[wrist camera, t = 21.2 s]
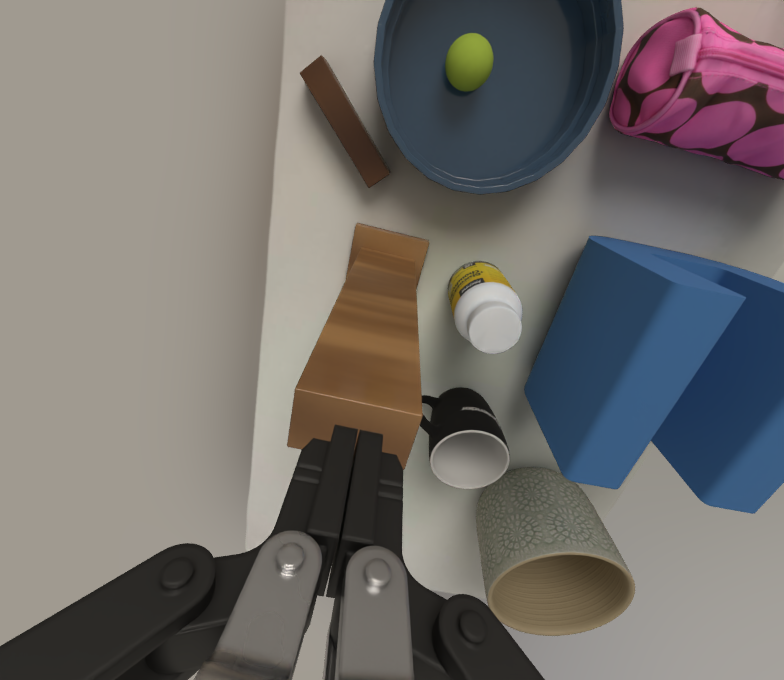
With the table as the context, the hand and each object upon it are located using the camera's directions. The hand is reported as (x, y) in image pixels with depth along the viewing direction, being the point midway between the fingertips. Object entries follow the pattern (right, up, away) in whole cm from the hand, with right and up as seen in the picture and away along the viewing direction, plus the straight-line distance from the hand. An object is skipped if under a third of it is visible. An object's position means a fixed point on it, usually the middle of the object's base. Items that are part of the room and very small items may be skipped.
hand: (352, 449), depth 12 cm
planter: (+22, -20, +47) cm, 56 cm away
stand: (0, +12, +31) cm, 34 cm away
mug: (+9, -5, +40) cm, 41 cm away
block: (+27, +6, +34) cm, 44 cm away
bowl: (+10, +28, +23) cm, 37 cm away
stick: (-3, +23, +23) cm, 33 cm away
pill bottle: (+11, +10, +32) cm, 35 cm away
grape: (+8, +27, +20) cm, 35 cm away
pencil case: (+31, +25, +24) cm, 46 cm away
